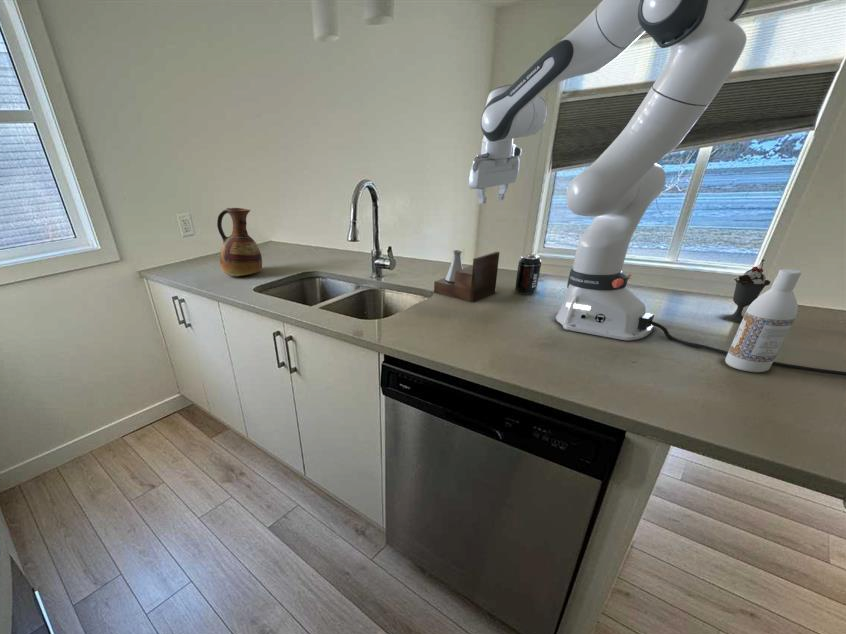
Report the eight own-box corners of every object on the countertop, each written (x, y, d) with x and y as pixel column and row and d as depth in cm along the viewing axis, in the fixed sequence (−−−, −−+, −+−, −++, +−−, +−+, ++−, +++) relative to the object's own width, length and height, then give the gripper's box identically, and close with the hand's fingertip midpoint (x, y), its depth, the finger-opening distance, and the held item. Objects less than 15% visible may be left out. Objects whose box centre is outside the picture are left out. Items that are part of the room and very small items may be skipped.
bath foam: (724, 355, 89) (763, 265, 79) (767, 363, 85) (815, 268, 75) (723, 368, 85) (765, 273, 75) (769, 376, 81) (820, 277, 71)
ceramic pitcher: (260, 277, 186) (248, 208, 171) (218, 281, 187) (202, 212, 172) (267, 267, 203) (256, 203, 188) (228, 271, 204) (214, 207, 189)
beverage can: (539, 294, 134) (546, 257, 128) (518, 296, 135) (524, 259, 129) (531, 288, 140) (537, 253, 134) (511, 290, 141) (516, 255, 135)
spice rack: (494, 293, 139) (499, 251, 132) (472, 301, 133) (476, 259, 127) (455, 284, 152) (458, 246, 145) (433, 292, 146) (435, 252, 139)
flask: (463, 276, 146) (466, 248, 141) (467, 281, 140) (470, 252, 135) (443, 277, 147) (445, 249, 142) (446, 283, 141) (448, 253, 136)
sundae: (747, 315, 106) (772, 257, 99) (757, 324, 101) (784, 264, 94) (715, 313, 109) (737, 257, 102) (723, 322, 104) (747, 263, 97)
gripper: (483, 154, 115) (479, 206, 121) (525, 149, 124) (518, 198, 131) (465, 155, 119) (462, 205, 126) (507, 150, 129) (501, 197, 136)
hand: (491, 201), depth 129 cm, fingers open, 8 cm apart
